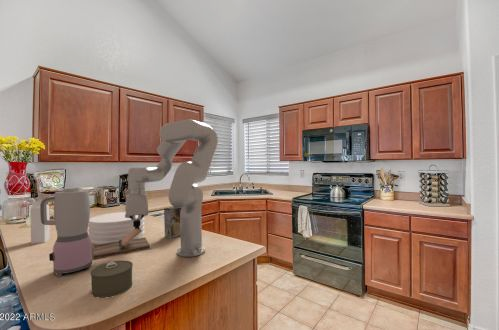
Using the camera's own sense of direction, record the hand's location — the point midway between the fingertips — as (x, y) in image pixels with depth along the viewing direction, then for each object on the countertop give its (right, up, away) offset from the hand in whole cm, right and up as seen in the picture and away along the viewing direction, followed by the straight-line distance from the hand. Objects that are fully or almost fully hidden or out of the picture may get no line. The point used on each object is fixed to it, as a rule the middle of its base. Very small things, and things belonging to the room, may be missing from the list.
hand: (136, 228), depth 119 cm
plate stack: (-19, -10, +17) cm, 27 cm away
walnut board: (-6, -9, -4) cm, 11 cm away
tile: (-2, -3, -2) cm, 4 cm away
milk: (-57, -10, +9) cm, 59 cm away
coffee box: (+14, -9, +16) cm, 23 cm away
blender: (-13, -9, -28) cm, 32 cm away
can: (+12, -9, -41) cm, 44 cm away
